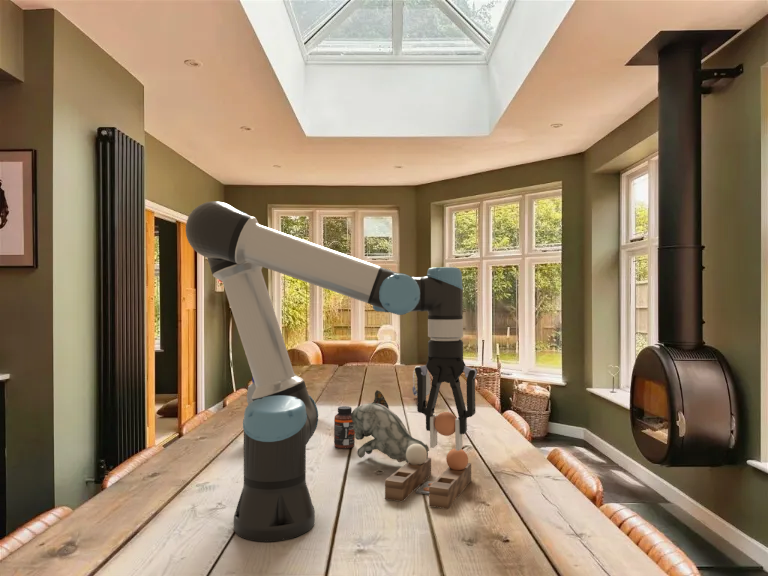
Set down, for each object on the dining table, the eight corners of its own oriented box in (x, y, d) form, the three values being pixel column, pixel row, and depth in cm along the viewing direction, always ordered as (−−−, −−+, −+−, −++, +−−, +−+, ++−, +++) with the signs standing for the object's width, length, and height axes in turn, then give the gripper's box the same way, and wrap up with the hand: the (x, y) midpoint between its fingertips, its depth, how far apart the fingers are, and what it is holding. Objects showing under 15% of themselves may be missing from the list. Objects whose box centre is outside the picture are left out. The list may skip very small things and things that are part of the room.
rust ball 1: (454, 439, 113) (454, 415, 113) (431, 436, 115) (431, 413, 115) (460, 434, 118) (460, 411, 118) (438, 431, 120) (438, 408, 120)
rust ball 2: (465, 475, 121) (464, 452, 122) (443, 472, 123) (443, 450, 124) (470, 468, 126) (470, 447, 126) (449, 465, 128) (449, 444, 128)
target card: (434, 495, 119) (434, 493, 119) (415, 492, 120) (415, 490, 120) (444, 485, 125) (444, 483, 125) (426, 482, 127) (426, 480, 127)
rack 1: (402, 501, 115) (402, 482, 115) (385, 498, 117) (385, 480, 117) (431, 474, 133) (431, 458, 133) (415, 472, 134) (415, 456, 134)
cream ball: (422, 469, 125) (422, 447, 126) (402, 466, 127) (402, 445, 128) (429, 463, 130) (429, 442, 130) (410, 460, 132) (410, 440, 132)
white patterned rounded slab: (408, 397, 233) (408, 362, 233) (420, 396, 234) (420, 362, 235) (421, 407, 213) (421, 369, 213) (435, 406, 214) (435, 368, 214)
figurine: (349, 478, 138) (414, 469, 128) (344, 405, 145) (405, 390, 134) (372, 477, 146) (436, 468, 135) (366, 407, 152) (426, 393, 142)
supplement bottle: (351, 449, 154) (351, 409, 154) (331, 448, 155) (331, 408, 155) (357, 444, 160) (357, 405, 160) (337, 443, 161) (337, 404, 161)
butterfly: (399, 426, 182) (399, 396, 182) (370, 426, 181) (370, 396, 181) (394, 417, 194) (394, 389, 194) (367, 418, 193) (367, 390, 193)
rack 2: (447, 509, 111) (447, 489, 111) (429, 506, 113) (429, 486, 113) (471, 480, 128) (471, 463, 129) (454, 477, 130) (454, 461, 130)
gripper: (490, 338, 117) (491, 447, 116) (412, 336, 124) (413, 439, 124) (482, 341, 110) (483, 457, 110) (400, 339, 117) (401, 447, 117)
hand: (446, 447), depth 117 cm, fingers closed on rust ball 1, 5 cm apart
